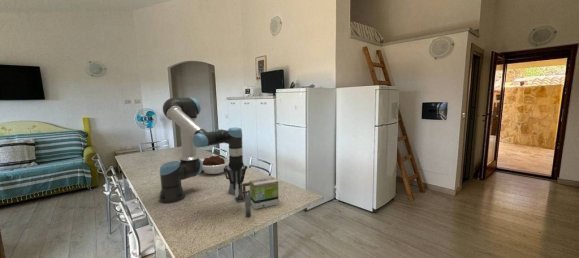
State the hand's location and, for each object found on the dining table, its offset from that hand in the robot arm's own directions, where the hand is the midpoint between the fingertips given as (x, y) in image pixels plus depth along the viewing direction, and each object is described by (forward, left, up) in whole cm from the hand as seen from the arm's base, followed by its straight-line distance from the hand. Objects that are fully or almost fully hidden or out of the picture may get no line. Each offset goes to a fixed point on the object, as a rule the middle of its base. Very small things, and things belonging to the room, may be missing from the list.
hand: (236, 194), depth 144 cm
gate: (+15, +12, -7) cm, 20 cm away
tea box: (+16, -1, -9) cm, 18 cm away
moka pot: (+3, +26, -9) cm, 27 cm away
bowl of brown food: (-5, +78, -9) cm, 78 cm away
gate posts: (+4, 0, -8) cm, 9 cm away
